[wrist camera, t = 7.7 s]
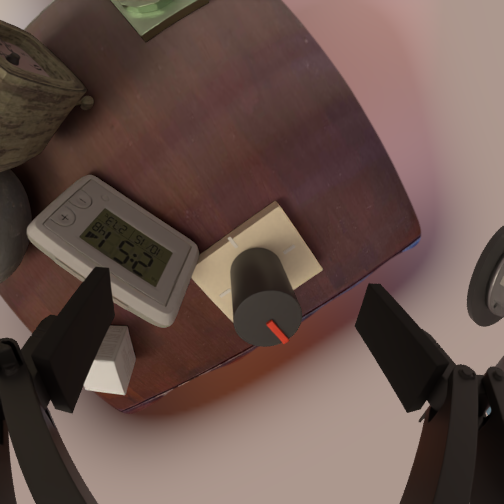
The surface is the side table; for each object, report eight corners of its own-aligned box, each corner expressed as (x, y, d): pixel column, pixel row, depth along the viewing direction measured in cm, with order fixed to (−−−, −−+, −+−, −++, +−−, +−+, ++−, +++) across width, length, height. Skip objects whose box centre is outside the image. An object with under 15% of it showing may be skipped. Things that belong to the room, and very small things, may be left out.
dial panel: (273, 197, 31) (277, 202, 29) (318, 263, 35) (325, 273, 32) (186, 260, 33) (183, 270, 31) (237, 316, 37) (238, 329, 34)
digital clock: (208, 252, 33) (203, 302, 23) (157, 299, 35) (138, 356, 25) (106, 149, 28) (57, 159, 18) (62, 208, 29) (10, 239, 19)
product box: (99, 355, 38) (84, 390, 31) (88, 322, 35) (69, 356, 29) (136, 359, 38) (126, 396, 31) (128, 325, 36) (114, 362, 29)
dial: (219, 267, 31) (218, 318, 23) (263, 236, 30) (279, 278, 22) (250, 303, 33) (259, 358, 25) (292, 275, 32) (315, 325, 24)
